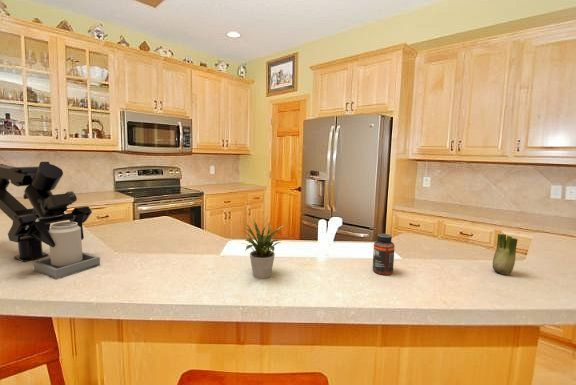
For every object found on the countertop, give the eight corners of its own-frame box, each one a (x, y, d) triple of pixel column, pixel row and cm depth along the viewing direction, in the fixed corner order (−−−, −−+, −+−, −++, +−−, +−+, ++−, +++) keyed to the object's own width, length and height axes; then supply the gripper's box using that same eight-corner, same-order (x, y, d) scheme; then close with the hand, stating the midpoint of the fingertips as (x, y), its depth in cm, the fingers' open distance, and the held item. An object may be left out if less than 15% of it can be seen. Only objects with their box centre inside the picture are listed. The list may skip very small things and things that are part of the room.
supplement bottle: (394, 270, 93) (396, 234, 91) (391, 277, 87) (394, 239, 86) (373, 266, 95) (376, 231, 94) (370, 273, 90) (372, 236, 88)
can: (65, 270, 84) (62, 227, 82) (44, 266, 86) (40, 225, 84) (89, 260, 91) (86, 221, 90) (69, 257, 93) (66, 219, 91)
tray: (34, 270, 86) (33, 262, 86) (78, 258, 96) (77, 250, 96) (56, 279, 81) (55, 270, 81) (100, 265, 91) (99, 257, 91)
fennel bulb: (515, 277, 89) (520, 238, 88) (497, 275, 90) (501, 236, 89) (505, 270, 95) (510, 232, 93) (488, 268, 96) (492, 231, 94)
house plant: (222, 279, 83) (222, 221, 81) (246, 262, 96) (246, 212, 94) (270, 289, 78) (271, 227, 76) (288, 269, 91) (290, 216, 89)
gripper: (13, 186, 79) (41, 233, 76) (86, 180, 95) (111, 219, 92) (0, 212, 83) (26, 258, 80) (72, 202, 100) (96, 240, 97)
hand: (68, 242), depth 87 cm, fingers closed on can, 7 cm apart
